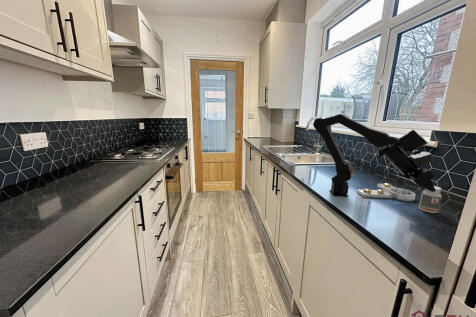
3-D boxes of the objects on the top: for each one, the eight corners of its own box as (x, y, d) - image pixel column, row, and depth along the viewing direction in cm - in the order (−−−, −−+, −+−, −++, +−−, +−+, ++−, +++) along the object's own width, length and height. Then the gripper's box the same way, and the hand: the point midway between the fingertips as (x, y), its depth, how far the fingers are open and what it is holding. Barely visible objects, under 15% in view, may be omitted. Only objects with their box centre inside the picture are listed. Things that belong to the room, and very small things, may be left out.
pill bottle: (441, 214, 75) (448, 190, 73) (424, 212, 76) (430, 189, 74) (430, 207, 80) (436, 185, 78) (414, 206, 81) (419, 184, 79)
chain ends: (365, 198, 88) (366, 193, 88) (347, 185, 106) (348, 180, 105) (420, 201, 86) (421, 196, 85) (392, 187, 103) (393, 182, 103)
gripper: (434, 148, 66) (468, 182, 65) (406, 141, 83) (433, 168, 82) (402, 168, 70) (433, 201, 69) (382, 158, 87) (407, 184, 86)
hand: (426, 187), depth 76 cm, fingers open, 9 cm apart
